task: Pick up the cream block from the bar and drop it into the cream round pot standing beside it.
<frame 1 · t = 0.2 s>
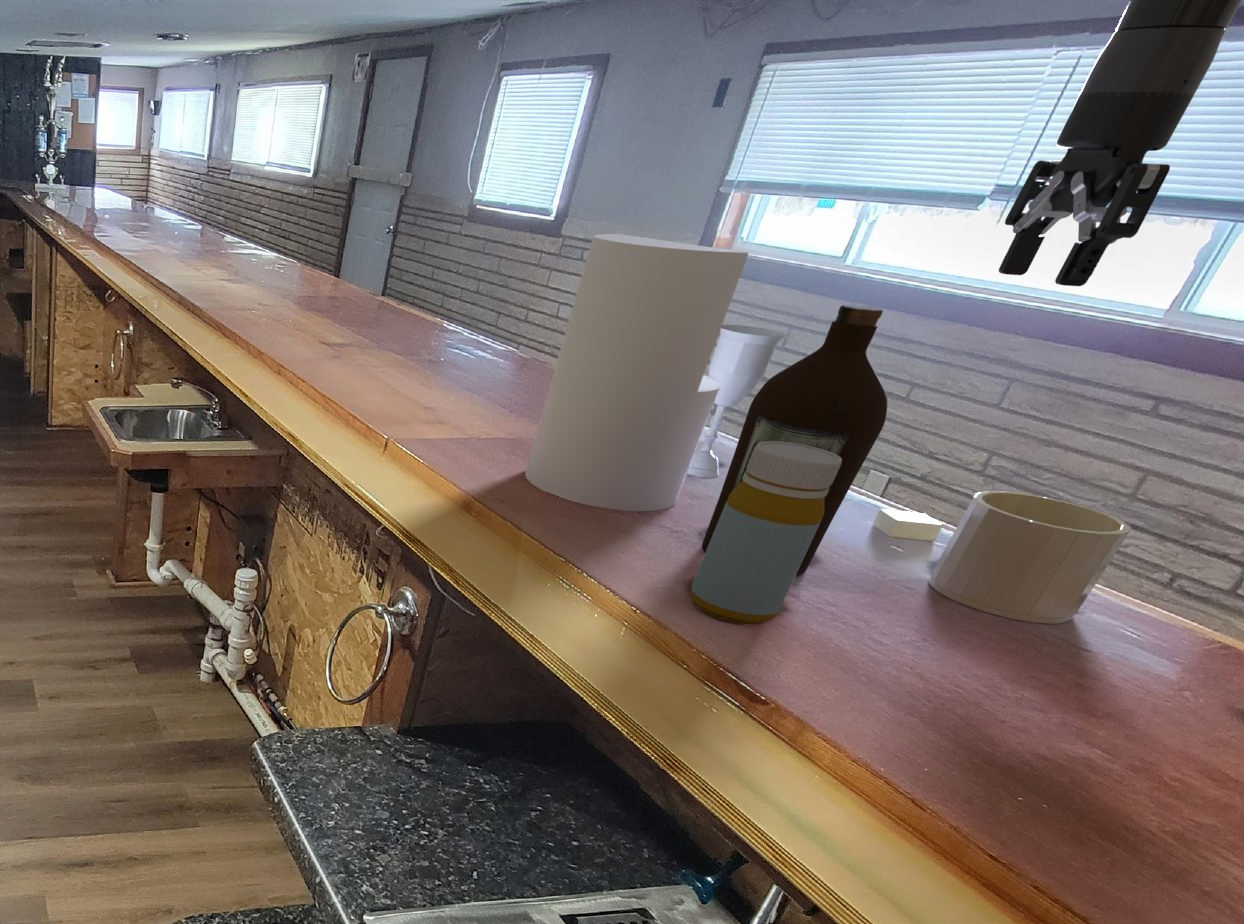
hand: (1038, 279, 91), 27 cm above the counter, tool pointing down, fingers open, 8 cm apart
chalice: (696, 472, 120), on the counter
cream round pot: (997, 597, 89), on the counter
cylinder: (598, 487, 113), on the counter
bottle: (728, 611, 84), on the counter
cream block: (902, 533, 103), on the counter
olive oil: (750, 560, 95), on the counter
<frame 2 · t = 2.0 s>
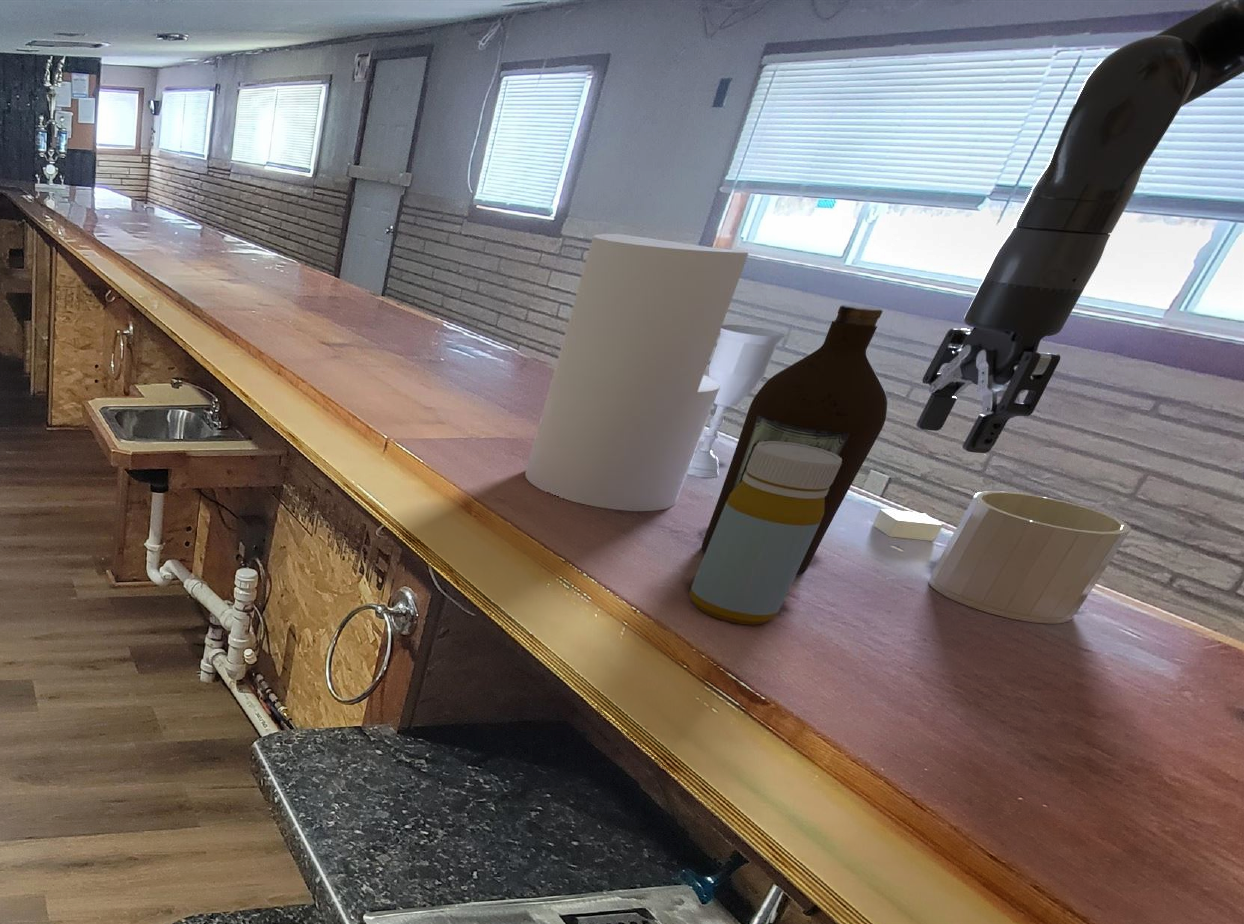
hand: (949, 440, 98), 11 cm above the counter, tool pointing down, fingers open, 8 cm apart
nothing on the counter moved.
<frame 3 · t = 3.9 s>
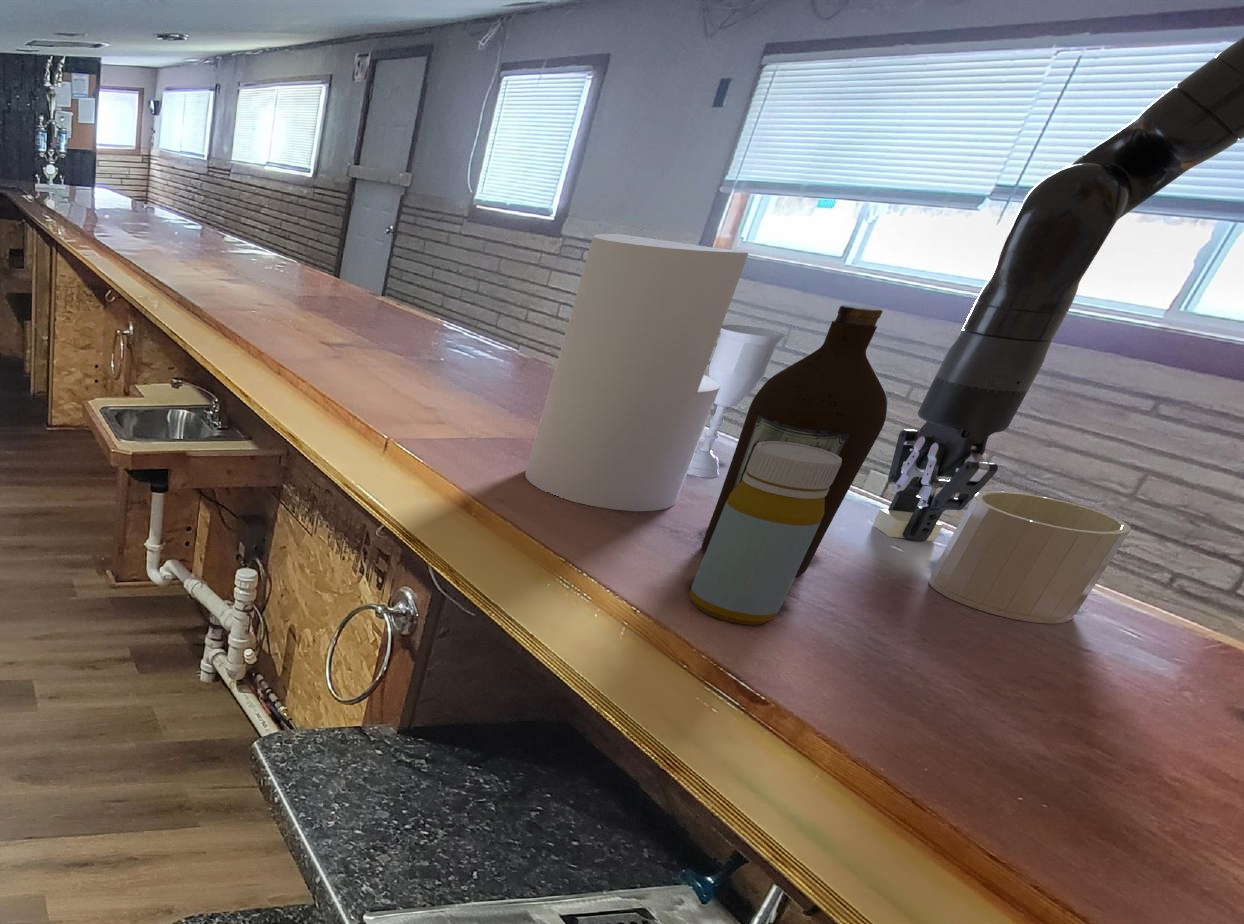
hand: (903, 531, 103), 0 cm above the counter, tool pointing down, fingers closed on cream block, 3 cm apart
cream block: (902, 533, 103), on the counter, touching gripper
everything else where it was.
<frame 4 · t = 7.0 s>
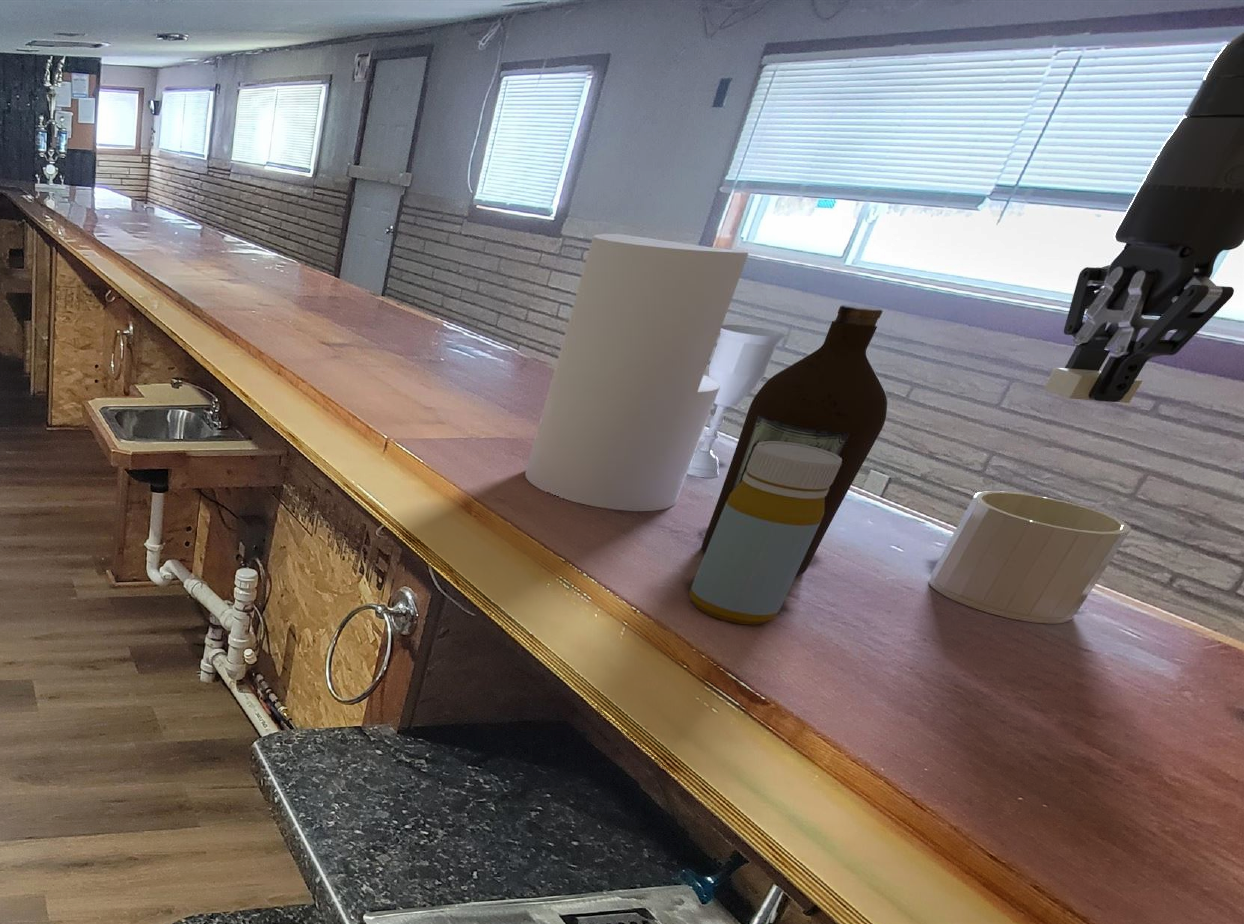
hand: (1086, 393, 82), 19 cm above the counter, tool pointing down, fingers closed on cream block, 3 cm apart
cream block: (1085, 396, 82), point 19 cm above the counter, touching gripper
everything else where it was.
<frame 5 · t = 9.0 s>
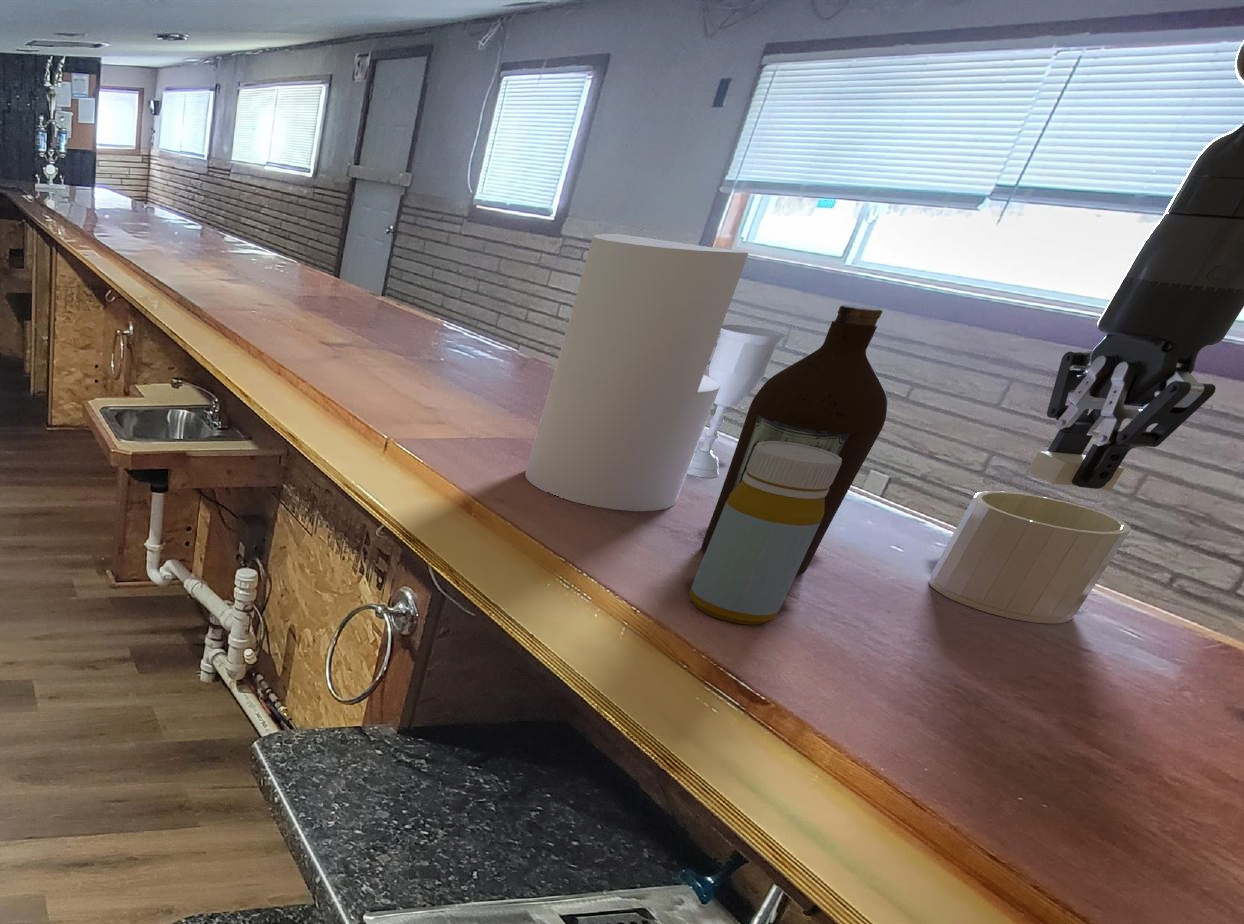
hand: (1069, 478, 83), 12 cm above the counter, tool pointing down, fingers closed on cream block, 3 cm apart
cream block: (1068, 480, 83), point 12 cm above the counter, touching gripper
everything else where it was.
when the fingers open (9 cm above the counter, at t = 10.2 s): cream block drops 7 cm and tips over, resting on cream round pot.
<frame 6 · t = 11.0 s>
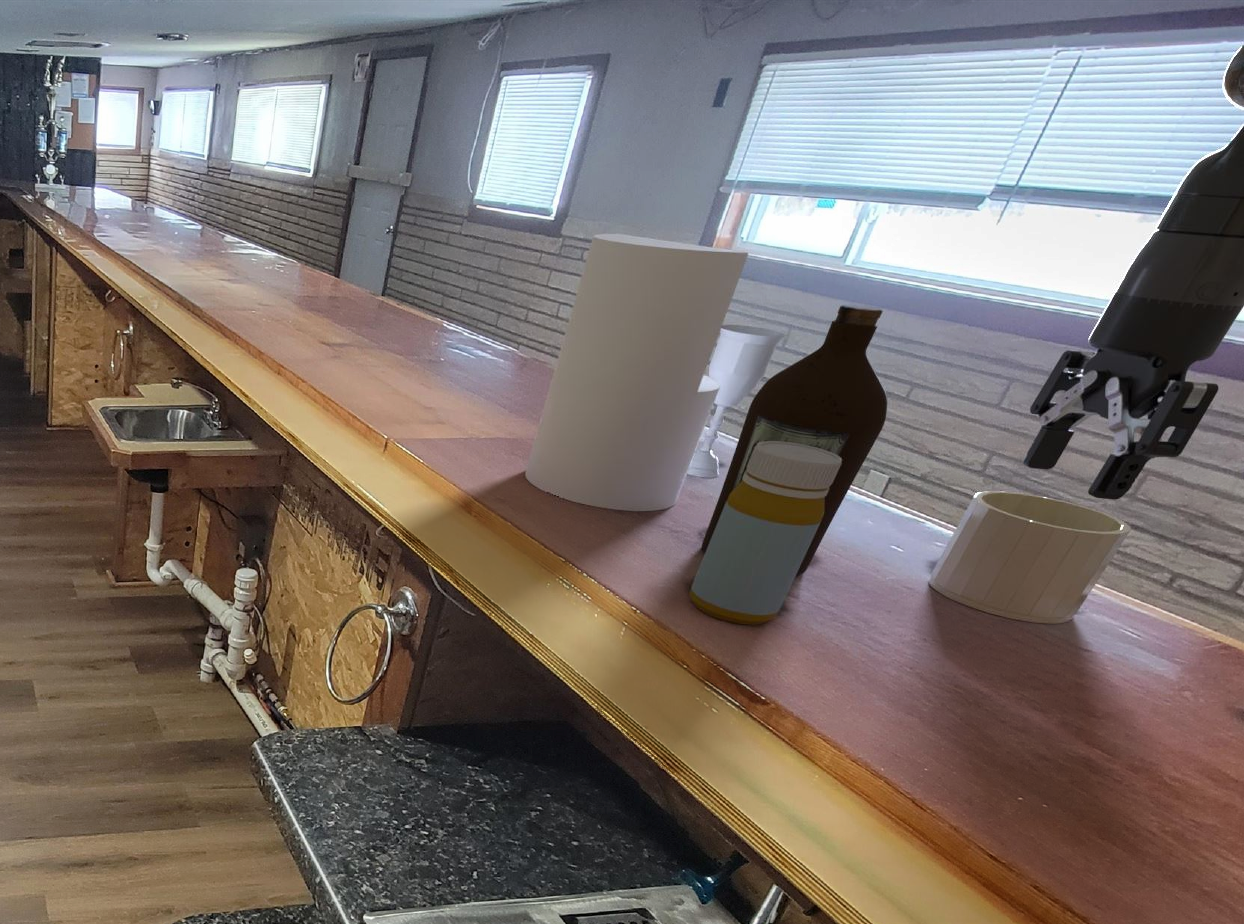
hand: (1068, 481, 83), 12 cm above the counter, tool pointing down, fingers open, 8 cm apart
cream block: (1004, 571, 88), point 2 cm above the counter, tilted 90°, touching cream round pot
everything else where it was.
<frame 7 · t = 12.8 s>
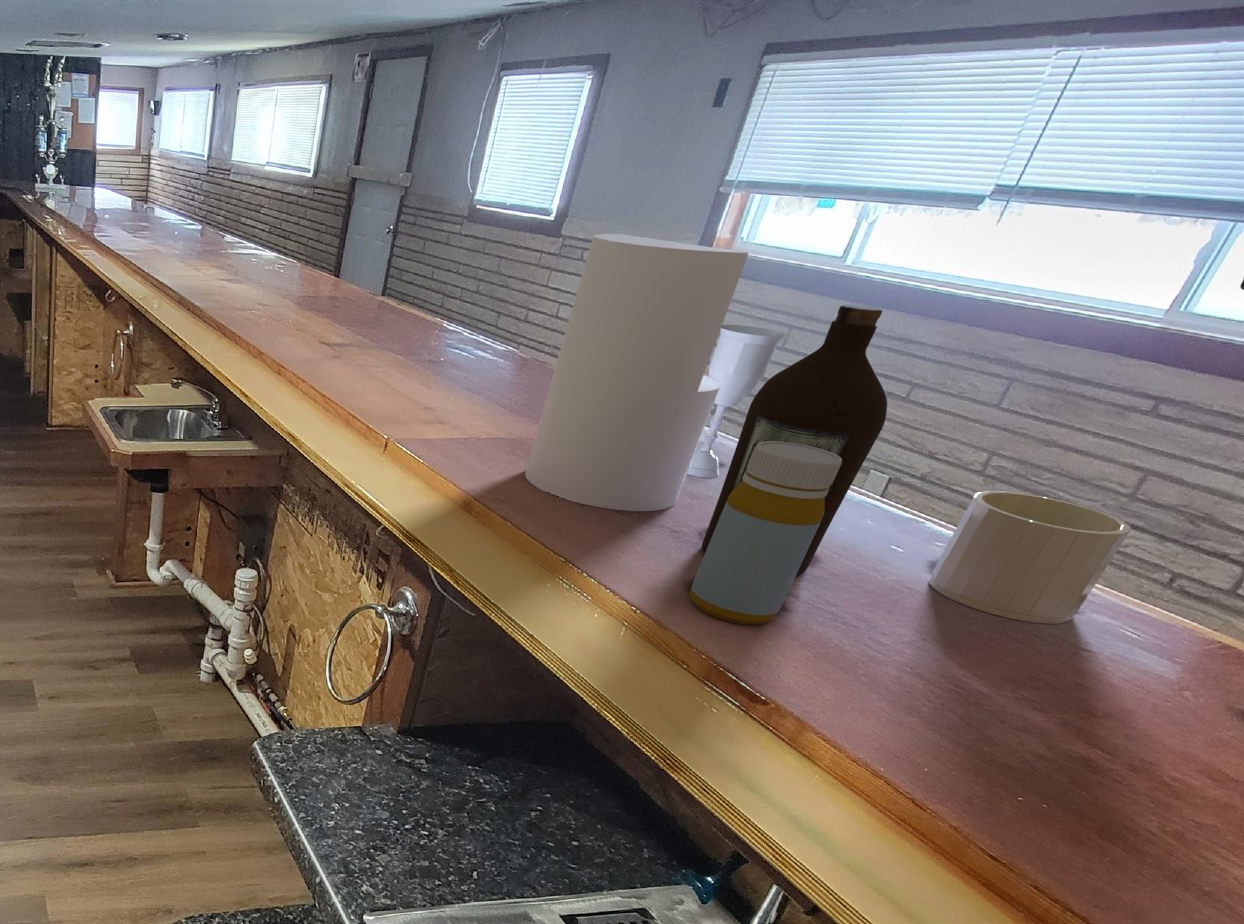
nothing on the counter moved.
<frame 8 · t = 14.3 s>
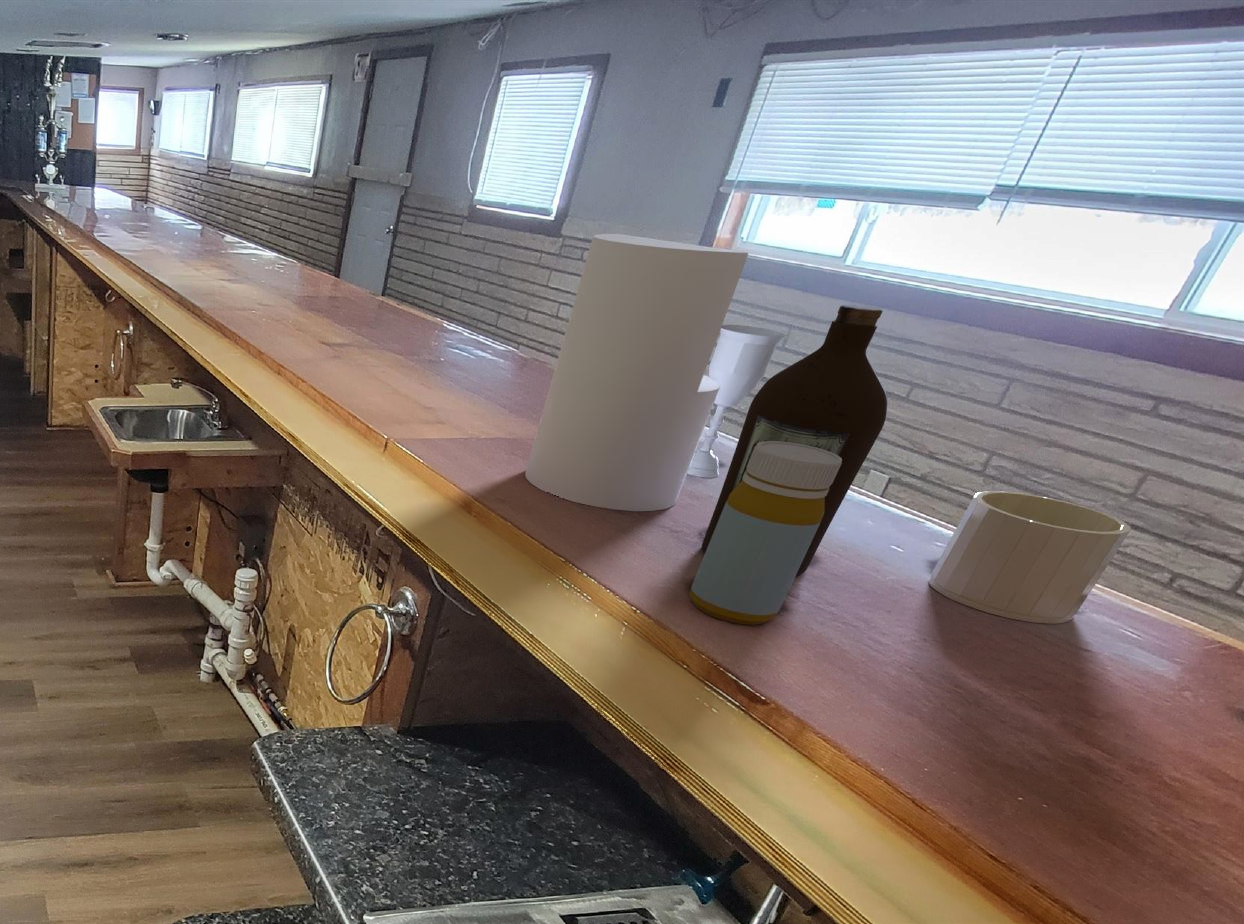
nothing on the counter moved.
at the end: cream block inside the target area in the cream round pot (0.9 cm from its centre), point 2.4 cm above the cream round pot's base; the gripper is holding nothing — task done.
